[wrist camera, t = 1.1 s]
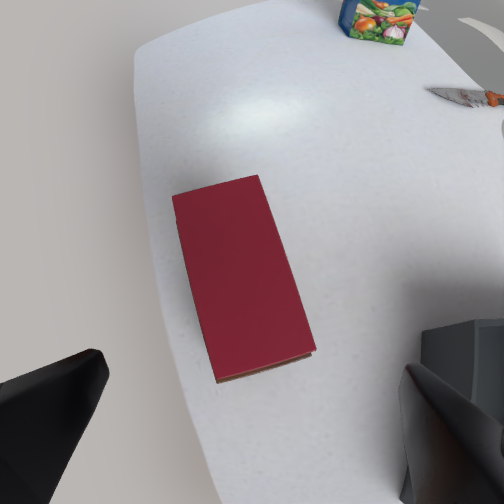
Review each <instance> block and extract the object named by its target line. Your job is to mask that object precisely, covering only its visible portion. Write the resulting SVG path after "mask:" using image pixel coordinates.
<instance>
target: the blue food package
mask: <svg viewBox="0 0 504 504" xmlns="http://www.w3.org/2000/svg"><path fill="white" fill-rule="evenodd" d="M420 1H421V0H343V3H342V7H341V12H340V16H339V20H338V24H339V25H340V27H341V28H342V29H343V31H344V32H345V33H346V35H347V36H348V37H354V38H358V39H363V40H373V41H377V42H383V43H388V44H398V45H403V43H404V41H405V38H406V36H407V33H408V31H409V28H410V26H411V24H412V21H413V19H414V16H415V14H416V11H417V9H418V6H419V4H420Z"/></svg>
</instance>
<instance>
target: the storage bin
mask: <svg viewBox="0 0 504 504" xmlns="http://www.w3.org/2000/svg"><path fill="white" fill-rule="evenodd" d="M421 364H422V365H424V366H425V367H426V368H428V369H429V370H430V371H432V372H433V373H434V374H436V375H437V376H438V377H440V378H441V379H442V380H444V381H445V382H446V383H447V384H449V385H450V386H451V387H453V388H454V389H455V390H457V391H458V392H459V393H461V394H462V395H463V396H465V397H466V398H467V399H469V400H470V401H471V402H473V403H474V404H475V405H477V406H478V407H479V408H480V409H482V410H483V411H484V412H486V413H487V414H488V415H490V416H491V417H492V418H494V419H495V420H496V421H497V422H499V423H500V424H501V425H503V428H504V319H479V320H471V321H467V322H463V323H458V324H454V325H450V326H445V327H441V328H436V329H431V330H426V331H422V349H421ZM400 501H402V502H403V503H404V504H415V500H414V494H413V487H412V481H411V476H410V470H409V465H408V468H407V473H406V477H405V481H404V486H403V490H402V494H401V498H400Z"/></svg>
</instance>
